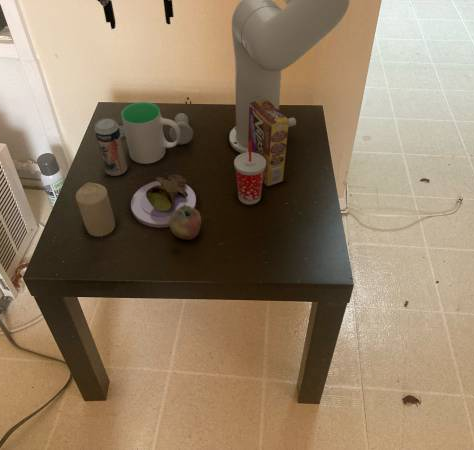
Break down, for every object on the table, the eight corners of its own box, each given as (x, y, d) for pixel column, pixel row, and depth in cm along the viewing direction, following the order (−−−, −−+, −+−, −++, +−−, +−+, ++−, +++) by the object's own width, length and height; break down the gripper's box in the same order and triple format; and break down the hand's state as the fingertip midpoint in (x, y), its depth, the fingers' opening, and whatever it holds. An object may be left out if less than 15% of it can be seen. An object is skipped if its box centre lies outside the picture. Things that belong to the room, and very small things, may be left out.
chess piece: (187, 120, 107) (187, 104, 115) (165, 128, 108) (166, 112, 115) (196, 140, 111) (196, 123, 118) (175, 148, 111) (175, 131, 119)
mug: (185, 142, 111) (181, 103, 104) (180, 164, 106) (175, 124, 98) (133, 141, 112) (125, 101, 105) (126, 163, 106) (117, 122, 99)
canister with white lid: (100, 173, 104) (88, 126, 96) (114, 160, 107) (103, 114, 99) (118, 179, 103) (107, 132, 94) (132, 167, 106) (122, 120, 97)
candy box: (285, 181, 102) (290, 119, 91) (267, 187, 101) (270, 125, 90) (264, 158, 108) (266, 97, 97) (247, 163, 106) (247, 102, 95)
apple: (167, 251, 89) (164, 228, 84) (173, 220, 94) (169, 197, 90) (200, 251, 89) (198, 229, 84) (203, 220, 94) (202, 198, 90)
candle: (84, 220, 94) (71, 181, 87) (113, 213, 96) (102, 174, 88) (88, 240, 91) (75, 201, 84) (117, 232, 92) (107, 193, 85)
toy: (172, 214, 93) (197, 195, 101) (170, 189, 90) (196, 172, 98) (142, 208, 95) (169, 190, 103) (140, 184, 93) (167, 167, 101)
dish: (181, 176, 103) (180, 171, 103) (207, 213, 95) (206, 209, 95) (122, 195, 99) (121, 191, 98) (144, 236, 91) (143, 232, 90)
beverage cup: (254, 211, 96) (256, 154, 86) (228, 199, 98) (227, 143, 88) (270, 193, 99) (273, 137, 89) (244, 183, 102) (244, 127, 92)
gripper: (178, -98, 77) (187, 11, 89) (67, -92, 75) (92, 18, 88) (183, -86, 72) (191, 28, 84) (63, -79, 70) (90, 37, 82)
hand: (140, 23), depth 86 cm, fingers open, 9 cm apart
